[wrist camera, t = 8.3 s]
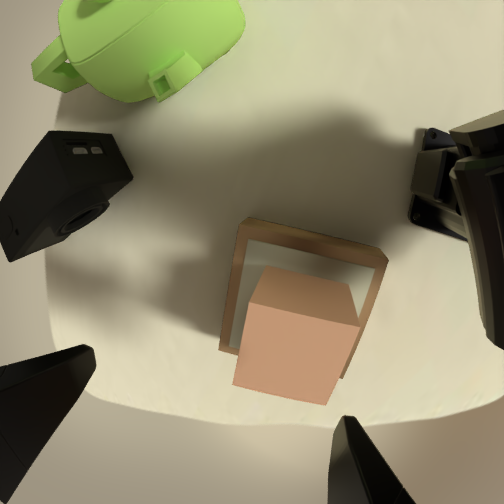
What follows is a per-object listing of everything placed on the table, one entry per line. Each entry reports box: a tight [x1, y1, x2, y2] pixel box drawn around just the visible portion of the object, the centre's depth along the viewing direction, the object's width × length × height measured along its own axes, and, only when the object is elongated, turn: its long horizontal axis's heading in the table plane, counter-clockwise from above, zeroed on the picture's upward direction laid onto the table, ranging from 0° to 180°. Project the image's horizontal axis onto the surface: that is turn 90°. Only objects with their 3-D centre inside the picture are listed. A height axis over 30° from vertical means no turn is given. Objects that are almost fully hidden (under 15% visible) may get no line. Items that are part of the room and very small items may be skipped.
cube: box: [232, 265, 360, 405], centre depth 16 cm, size 5×5×5 cm
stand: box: [218, 218, 389, 379], centre depth 19 cm, size 9×9×3 cm
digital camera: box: [0, 131, 133, 262], centre depth 18 cm, size 10×5×7 cm, turn 119°
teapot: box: [31, 0, 245, 103], centre depth 12 cm, size 12×12×10 cm
